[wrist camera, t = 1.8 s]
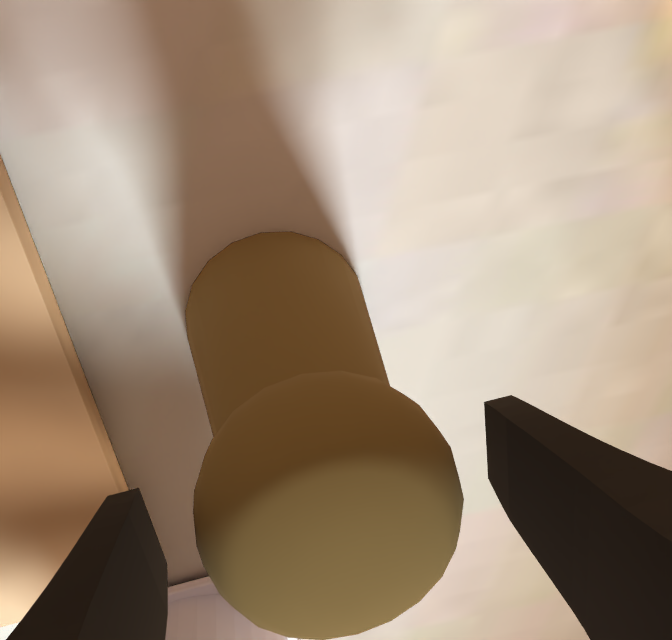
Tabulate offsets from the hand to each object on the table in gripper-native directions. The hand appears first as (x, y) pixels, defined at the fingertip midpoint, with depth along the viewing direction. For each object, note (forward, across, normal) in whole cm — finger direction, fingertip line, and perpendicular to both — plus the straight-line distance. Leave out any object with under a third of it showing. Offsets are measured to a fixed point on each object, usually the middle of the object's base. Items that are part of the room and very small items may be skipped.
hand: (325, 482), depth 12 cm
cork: (+9, 0, 0) cm, 9 cm away
